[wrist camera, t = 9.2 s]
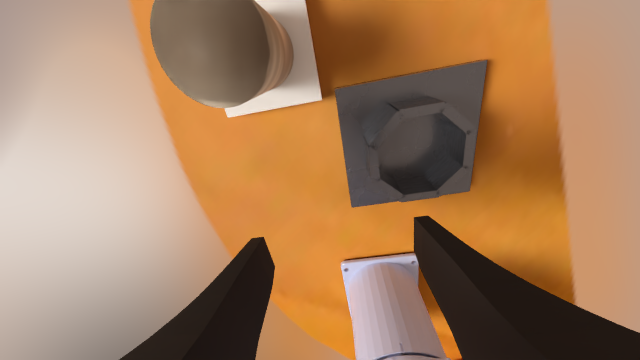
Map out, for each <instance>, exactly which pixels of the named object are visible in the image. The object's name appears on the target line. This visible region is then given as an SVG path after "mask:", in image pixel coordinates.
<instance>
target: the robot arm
mask: <svg viewBox="0 0 640 360" xmlns="http://www.w3.org/2000/svg"><path fill="white" fill-rule="evenodd" d="M414 252H415V253H409V254H400V255H391V256H383V257H374V258H365V259H356V260H347V261H343V262H342V263H341V269H342V274H343V279H344V285H345V290H346V295H347V300H348V305H349V310H350V315H351V317H352V324H353V334H354V344H355V354H356V360H451V359H450V358H447V357H446V355H445V352H444V350H443V347H442V345H441V343H440V340H439V338H438V335H437V333H436V330H435V328H434V325H433V323H432V321H431V318H430V316H429V313H428V311H427V308H426V306H425V303H424V301H423V299H422V296H421V294H420V291H419V289H418V267H419V266H420V269H421V271H422V273H423V275H424V277H425V279H426V281H427V283H428V285H429V287H430V289H431V291H432V293H433V295H434V297H435V299H436V301H437V303H438V305H439V307H440V309H441V311H442V313H443V315H444V317H445V319H446V321H447V323H448V325H449V327H450V329H451V331H452V334H453V336H454V339H455V341H456V344H457V346H458V349H459V351H460V353H461V356H462V358H463V360H640V333H638V332H636V331H633V330H630V329H628V328H626V327H623V326H621V325H618V324H616V323H614V322H612V321H609V320H607V319H605V318H602V317H600V316H598V315H595V314H593V313H591V312H589V311H586V310H584V309H582V308H580V307H578V306H575V305H573V304H571V303H569V302H567V301H565V300H563V299H561V298H559V297H557V296H555V295H553V294H551V293H549V292H547V291H545V290H543V289H541V288H539V287H537V286H535V285H533V284H531V283H529V282H527V281H525V280H524V279H522V278H520V277H518V276H516V275H515V274H513V273H511V272H509V271H508V270H506V269H504V268H502V267H501V266H499V265H497V264H496V263H494V262H493V261H491V260H489V259H488V258H486V257H485V256H483V255H482V254H480V253H478V252H477V251H475V250H474V249H473V248H471V247H470V246H468V245H467V244H465V243H464V242H463V241H461V240H460V239H458V238H457V237H456V236H454V235H453V234H452V233H450V232H449V231H448V230H446V229H445V228H444V227H442V226H441V225H440V224H438V223H437V222H436V221H434V220H433V219H432V218H430V217H429V216H421V217H414ZM412 261H413V262H412ZM345 268H347V269H345ZM274 270H275V266H274V263H273V260H272V258H271V255H270V252H269V250H268V247H267V245H266V242H265V239H264V237H259V238H252V239H251V240H250V241H249V242H248V243H247V244H246V245H245V246H244V247H243V249H242V250H241V251H240V252H239V253H238V254H237V255H236V257H235V258H234V259H233V260H232V261H231V262H230V264H229V265H228V266H227V267H226V268H225V269H224V270H223V271H222V272H221V273H220V274H219V275H218V276H217V277H216V278H215V280H214V281H213V282H212V283H211V284H210V285H209V286H208V287H207V288H206V289H205V290H204V291H203V292H202V293H201V294H200V295H199V296H198V297H197V298H196V299H195V300H193V301H192V302H191V303H190V304H189V305H188V306H187V307H186V308H185V309H183V310H182V311H181V312H180V313H179V314H178V315H177V316H176V317H174V318H173V319H172V320H171V321H169V322H168V323H167V324H166V325H164V326H163V327H162V328H161V329H159V330H158V331H157V332H156V333H155V334H153V335H152V336H151V337H150V338H148V339H147V340H146V341H144V342H143V343H142V344H140V345H139V346H137V347H136V348H135V349H133V350H132V351H131V352H129V353H128V354H126V355H125V356H124V357H122V358H121V359H120V360H255V357H256V351H257V346H258V341H259V337H260V333H261V329H262V325H263V321H264V317H265V313H266V310H267V306H268V302H269V298H270V294H271V290H272V285H273V278H274Z"/></svg>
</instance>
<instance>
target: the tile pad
mask: <svg viewBox="0 0 640 360" xmlns="http://www.w3.org/2000/svg"><path fill="white" fill-rule="evenodd" d="M254 1H256V2H257V3H258V4H259V5H260V6H261V7H262V8H264V9H265V10H266V11H267V12H268V13H269V14H271V15H272V16H273V17H274V18H275V19H276V20H277V21H279V22H280V23H281V24H282V26H283V27H284V28H285V29H286V31H287V33H288V35H289V36H290V39H291V42H292V45H293V51H294V60H293V66H292V69H291V72H290V74H289V76H288V77H287V79H286V80H285V81H284V82H283V83H282V84H281V85H279V86H277V87H276V88H274V89H272V90H270V91H267V92H265V93H263V94H261V95H259V96H257V97H255V98H253V99H251V100H249V101H247V102H245V103H243V104H241V105H239V106H235V107H230V108H225V111H226V114H227V116H228V118H229V117H234V116H239V115H245V114H250V113H255V112H261V111H266V110H271V109H276V108H282V107H287V106H292V105H298V104H303V103H308V102H313V101H319V100H322V94H321V88H320V82H319V77H318V71H317V65H316V59H315V53H314V47H313V41H312V35H311V29H310V24H309V18H308V12H307V6H306V0H254Z"/></svg>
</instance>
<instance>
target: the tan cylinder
mask: <svg viewBox="0 0 640 360" xmlns="http://www.w3.org/2000/svg"><path fill="white" fill-rule="evenodd" d="M150 29H151V38H152V43H153V47H154V50H155V53H156V55H157V58H158V60H159V62H160V64H161V66H162V68H163V70H164V71H165V73H166V74H167V76H168V77H169V78H170V80H171V81H172V82H173V83H174V84H175V85H176V86H177V87H178V88H179V89H180V90H181V91H182V92H183V93H184V94H186V95H187V96H189V97H190V98H192V99H193V100H195V101H197V102H199V103H202V104H204V105H207V106H211V107H216V108H230V107H235V106H239V105H241V104H243V103H245V102H247V101H249V100H251V99H253V98H255V97H257V96H259V95H261V94H263V93H265V92H267V91H270V90H272V89H274V88H276V87H277V86H279V85H281V84H282V83H283V82H284V81H285V80H286V79H287V77H288V76H289V74H290V72H291V69H292V66H293V60H294V51H293V45H292V42H291V39H290V36H289V35H288V33H287V31H286V29H285V28H284V27H283V26H282V24H281V23H280V22H279V21H277V20H276V19H275V18H274V17H273V16H272V15H271V14H269V13H268V12H267V11H266V10H265V9H264V8H262V7H261V6H260V5H259V4H258V3H257V2H256V1H254V0H155V1H154V3H153V6H152V11H151V19H150Z"/></svg>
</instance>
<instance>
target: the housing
mask: <svg viewBox="0 0 640 360" xmlns="http://www.w3.org/2000/svg"><path fill="white" fill-rule="evenodd" d="M486 66H487V60H478V61H473V62H467V63H462V64H457V65H452V66H447V67H442V68H436V69H431V70H426V71H421V72H416V73H411V74H405V75H400V76H395V77H390V78H385V79H379V80H374V81H369V82H364V83H359V84H354V85H348V86H343V87H338V88H335V95H336V102H337V109H338V116H339V123H340V130H341V137H342V144H343V151H344V158H345V165H346V172H347V179H348V186H349V193H350V200H351V206H352V207H359V206H367V205H374V204H381V203H388V202H396V201H399V202H407V201H414V200H421V199H429V198H436V197H439V196H441V195H447V194H454V193H461V192H468V191H470V185H471V177H472V170H473V162H474V155H475V148H476V140H477V133H478V125H479V118H480V111H481V103H482V96H483V88H484V81H485V73H486Z"/></svg>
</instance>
